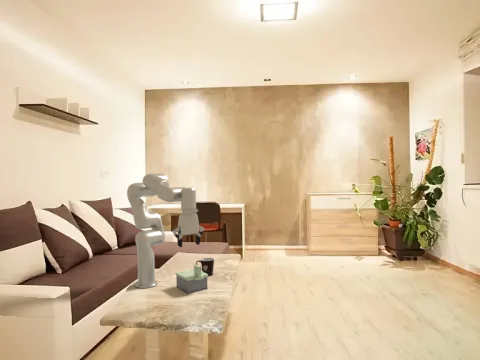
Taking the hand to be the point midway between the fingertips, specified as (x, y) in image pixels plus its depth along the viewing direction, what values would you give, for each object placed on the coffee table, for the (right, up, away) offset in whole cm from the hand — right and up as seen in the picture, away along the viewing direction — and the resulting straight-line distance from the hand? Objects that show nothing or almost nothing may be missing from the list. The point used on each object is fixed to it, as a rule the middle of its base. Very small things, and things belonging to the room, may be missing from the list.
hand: (189, 245), depth 167 cm
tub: (-1, -27, +18) cm, 33 cm away
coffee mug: (+4, -28, +44) cm, 52 cm away
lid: (-1, -21, +17) cm, 27 cm away
